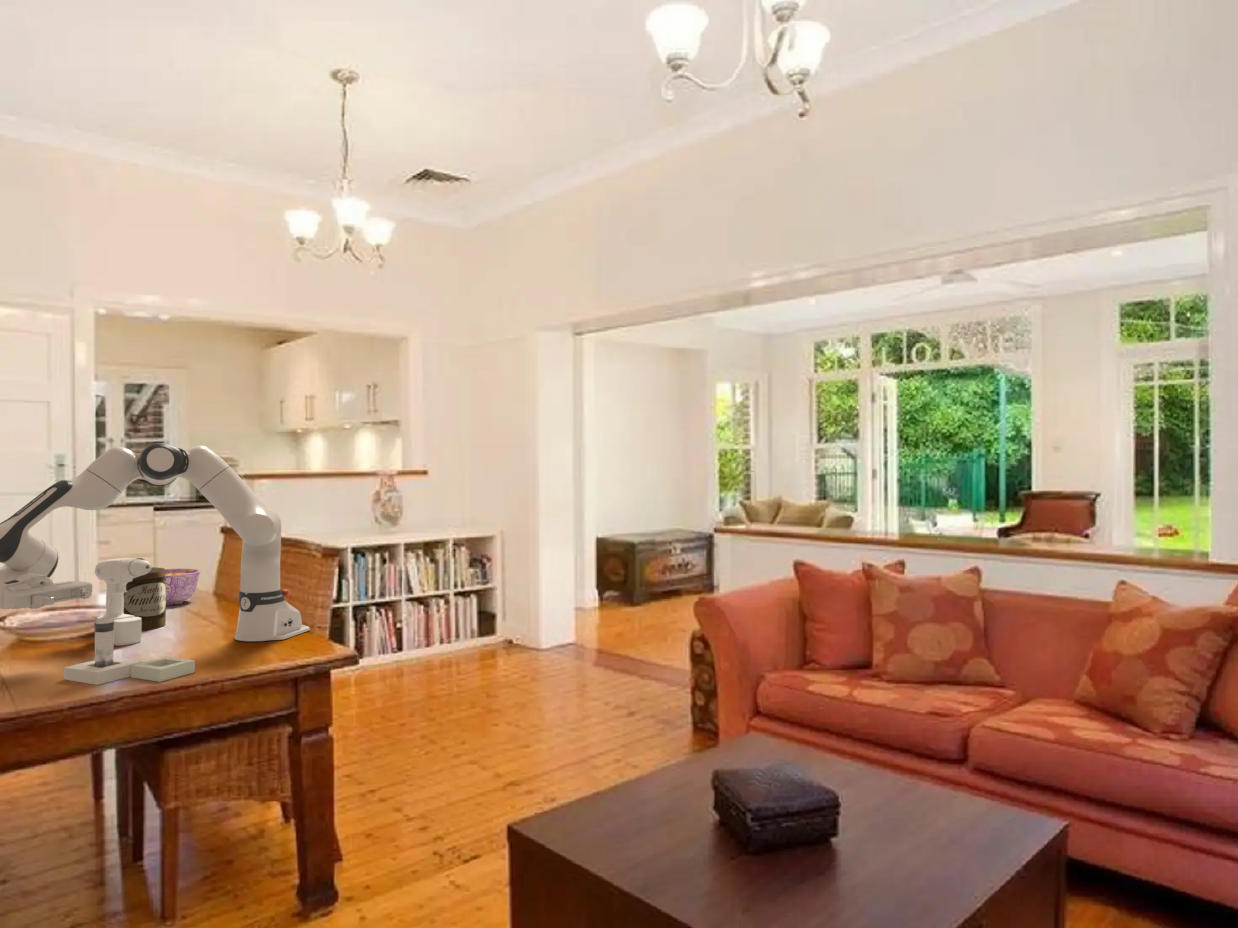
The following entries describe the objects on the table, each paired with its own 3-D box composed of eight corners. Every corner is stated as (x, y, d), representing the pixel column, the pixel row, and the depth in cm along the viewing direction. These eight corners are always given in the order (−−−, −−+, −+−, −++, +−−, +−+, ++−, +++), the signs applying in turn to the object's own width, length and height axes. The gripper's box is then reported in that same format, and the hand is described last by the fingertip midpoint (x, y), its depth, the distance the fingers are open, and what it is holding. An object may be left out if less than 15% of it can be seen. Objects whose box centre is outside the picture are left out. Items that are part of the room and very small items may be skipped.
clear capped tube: (106, 673, 214) (106, 617, 214) (117, 675, 212) (118, 619, 212) (90, 677, 210) (90, 620, 210) (102, 679, 208) (102, 622, 208)
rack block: (166, 668, 219) (166, 656, 219) (194, 672, 215) (194, 660, 215) (131, 677, 210) (131, 665, 210) (160, 681, 206) (159, 669, 206)
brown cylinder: (129, 633, 261) (129, 562, 261) (102, 628, 269) (102, 558, 269) (175, 625, 274) (175, 557, 274) (148, 620, 282) (148, 554, 282)
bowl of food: (157, 610, 300) (157, 577, 300) (128, 604, 311) (128, 572, 311) (211, 602, 317) (211, 571, 317) (181, 596, 328) (181, 567, 328)
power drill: (132, 650, 238) (132, 561, 238) (87, 640, 251) (87, 556, 251) (162, 644, 246) (162, 558, 245) (117, 635, 258) (117, 553, 258)
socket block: (110, 668, 219) (110, 656, 219) (143, 673, 214) (143, 661, 214) (64, 679, 208) (64, 667, 208) (97, 684, 203) (97, 672, 203)
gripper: (71, 596, 231) (107, 603, 226) (-8, 609, 212) (29, 617, 207) (72, 573, 230) (108, 580, 225) (-8, 584, 211) (30, 592, 206)
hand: (69, 598), depth 216 cm, fingers open, 8 cm apart
